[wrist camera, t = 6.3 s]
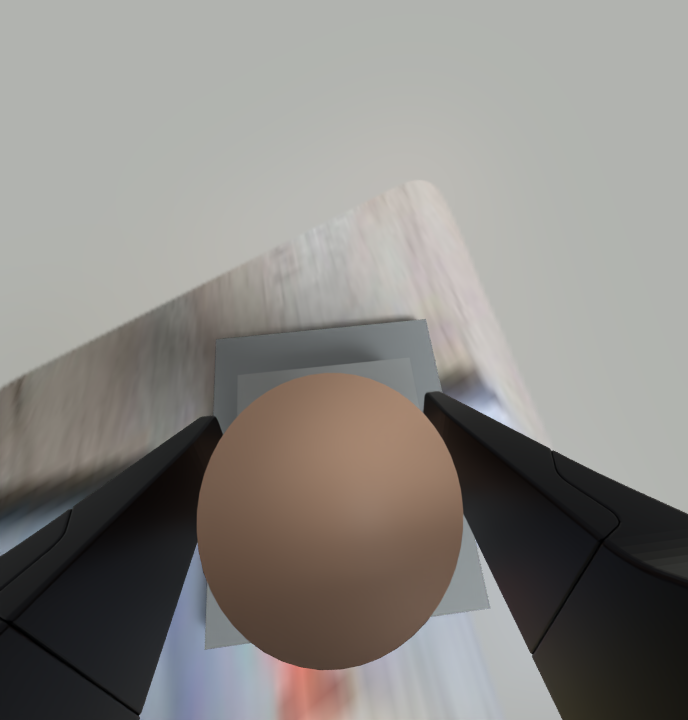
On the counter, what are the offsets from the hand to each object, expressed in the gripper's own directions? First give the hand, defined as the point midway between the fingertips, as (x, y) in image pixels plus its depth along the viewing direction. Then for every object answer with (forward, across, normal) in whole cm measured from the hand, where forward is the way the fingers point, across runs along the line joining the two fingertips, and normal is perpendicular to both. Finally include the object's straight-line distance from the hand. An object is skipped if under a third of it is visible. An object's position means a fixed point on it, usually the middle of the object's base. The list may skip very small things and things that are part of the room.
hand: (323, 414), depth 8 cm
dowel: (+5, 0, +7) cm, 8 cm away
